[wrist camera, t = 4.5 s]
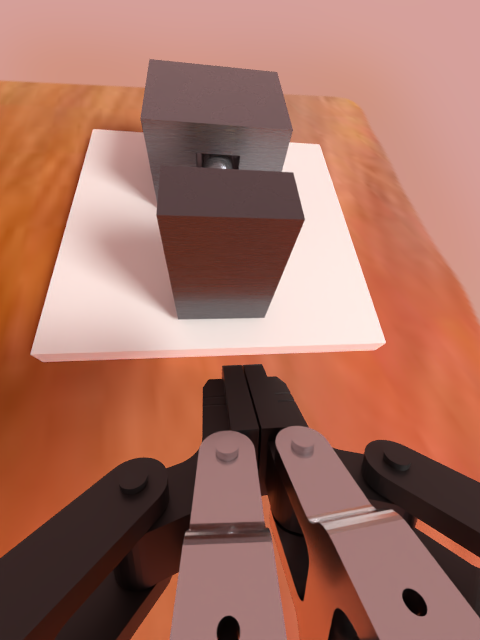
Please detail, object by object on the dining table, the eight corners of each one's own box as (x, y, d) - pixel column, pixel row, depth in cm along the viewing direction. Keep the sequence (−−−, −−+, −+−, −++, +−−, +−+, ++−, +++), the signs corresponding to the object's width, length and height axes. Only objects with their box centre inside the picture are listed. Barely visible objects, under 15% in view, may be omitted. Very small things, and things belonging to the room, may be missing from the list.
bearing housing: (158, 209, 24) (140, 118, 17) (162, 151, 27) (149, 59, 21) (271, 212, 25) (292, 129, 19) (261, 157, 28) (277, 72, 22)
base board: (42, 362, 18) (30, 354, 17) (98, 144, 29) (93, 129, 28) (374, 350, 21) (386, 342, 20) (314, 157, 32) (319, 144, 31)
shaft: (178, 319, 19) (156, 214, 11) (183, 141, 27) (173, 11, 19) (264, 317, 19) (304, 219, 11) (242, 145, 28) (256, 22, 20)
